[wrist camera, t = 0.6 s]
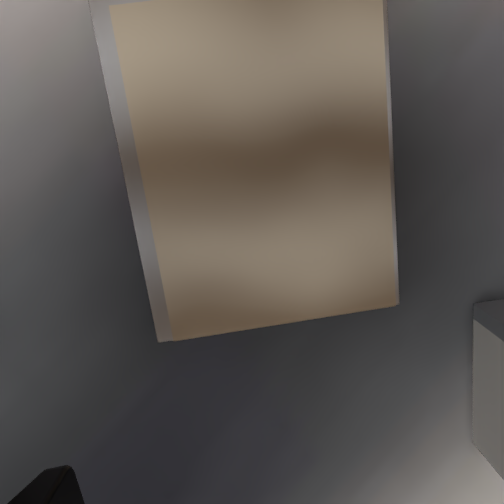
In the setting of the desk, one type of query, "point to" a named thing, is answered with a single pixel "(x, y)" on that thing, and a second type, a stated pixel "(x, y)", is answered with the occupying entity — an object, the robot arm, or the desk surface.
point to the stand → (254, 157)
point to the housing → (489, 381)
